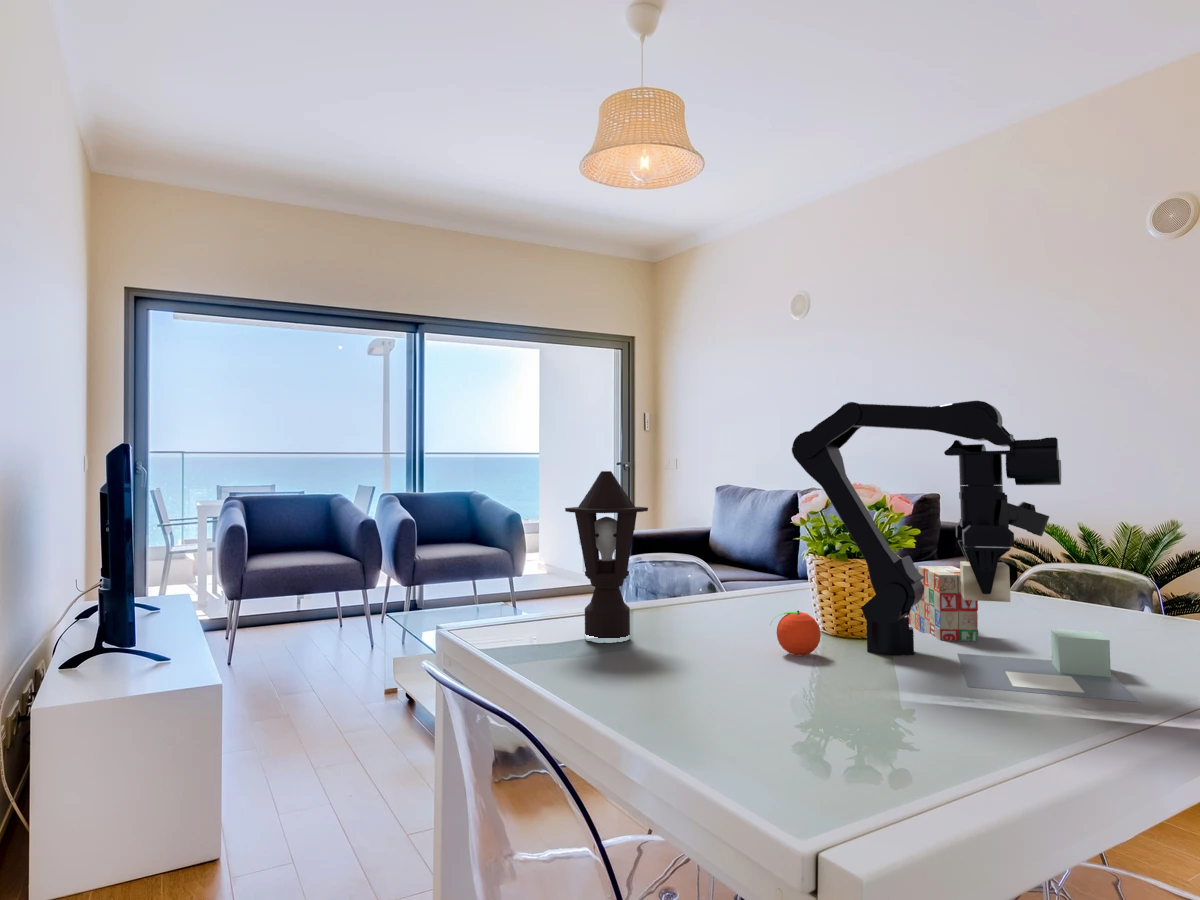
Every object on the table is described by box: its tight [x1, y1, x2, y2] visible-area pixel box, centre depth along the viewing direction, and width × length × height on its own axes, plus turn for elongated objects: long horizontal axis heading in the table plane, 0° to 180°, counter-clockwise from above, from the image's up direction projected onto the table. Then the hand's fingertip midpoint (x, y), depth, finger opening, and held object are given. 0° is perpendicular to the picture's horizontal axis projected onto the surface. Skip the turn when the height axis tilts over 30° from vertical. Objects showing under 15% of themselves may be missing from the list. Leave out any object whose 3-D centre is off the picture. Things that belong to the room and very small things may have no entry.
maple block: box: [959, 560, 1011, 603], centre depth 111 cm, size 6×6×5 cm
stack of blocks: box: [906, 565, 979, 642], centre depth 137 cm, size 21×6×12 cm, turn 173°
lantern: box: [564, 470, 649, 638], centre depth 135 cm, size 15×15×30 cm
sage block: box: [1050, 628, 1112, 677], centre depth 107 cm, size 6×6×5 cm
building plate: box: [957, 653, 1142, 703], centre depth 104 cm, size 19×20×1 cm
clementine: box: [769, 610, 822, 657], centre depth 121 cm, size 8×7×7 cm
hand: (984, 590), depth 111 cm, fingers closed on maple block, 6 cm apart
